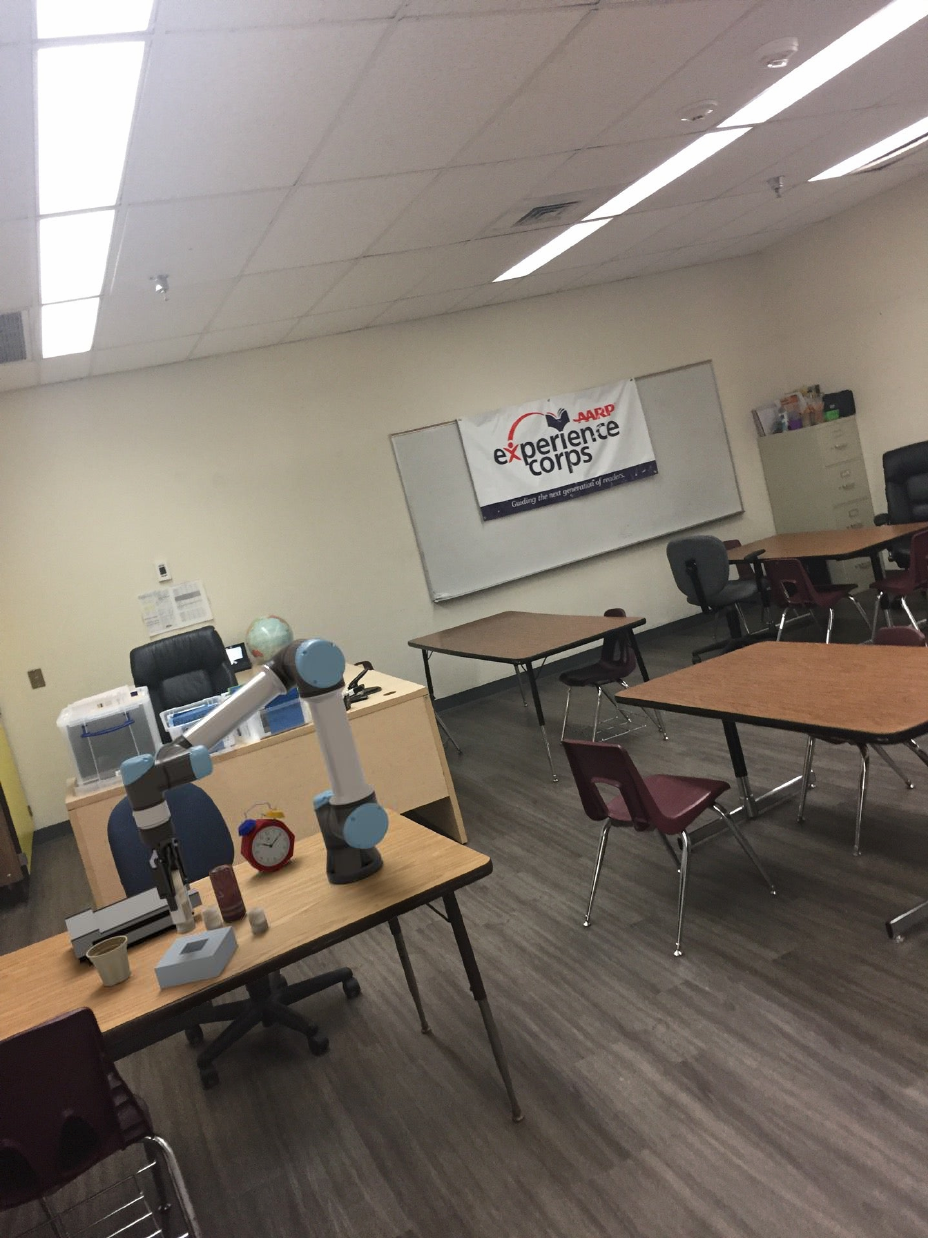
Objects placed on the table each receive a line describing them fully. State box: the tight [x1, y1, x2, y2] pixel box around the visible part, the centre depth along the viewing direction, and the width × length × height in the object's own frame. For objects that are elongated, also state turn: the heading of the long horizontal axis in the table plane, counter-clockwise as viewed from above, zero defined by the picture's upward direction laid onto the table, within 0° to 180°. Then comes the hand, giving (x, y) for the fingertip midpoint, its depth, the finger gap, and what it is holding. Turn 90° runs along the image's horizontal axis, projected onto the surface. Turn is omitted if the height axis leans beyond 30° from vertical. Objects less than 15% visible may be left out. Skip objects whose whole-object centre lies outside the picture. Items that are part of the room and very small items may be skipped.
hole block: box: [154, 925, 239, 990], centre depth 213 cm, size 14×14×5 cm
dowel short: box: [246, 906, 270, 935], centre depth 225 cm, size 4×4×5 cm
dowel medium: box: [200, 904, 225, 932], centre depth 226 cm, size 4×4×8 cm
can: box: [208, 862, 247, 924], centre depth 236 cm, size 6×6×14 cm
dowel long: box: [171, 870, 197, 936], centre depth 212 cm, size 4×4×14 cm
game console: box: [64, 878, 203, 967], centre depth 245 cm, size 21×32×8 cm, turn 118°
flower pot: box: [86, 936, 132, 987], centre depth 218 cm, size 9×9×9 cm
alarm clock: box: [237, 801, 296, 877], centre depth 265 cm, size 15×9×20 cm, turn 123°
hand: (183, 917), depth 212 cm, fingers closed on dowel long, 4 cm apart
